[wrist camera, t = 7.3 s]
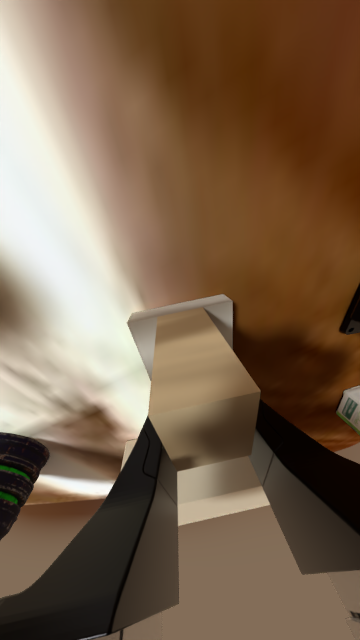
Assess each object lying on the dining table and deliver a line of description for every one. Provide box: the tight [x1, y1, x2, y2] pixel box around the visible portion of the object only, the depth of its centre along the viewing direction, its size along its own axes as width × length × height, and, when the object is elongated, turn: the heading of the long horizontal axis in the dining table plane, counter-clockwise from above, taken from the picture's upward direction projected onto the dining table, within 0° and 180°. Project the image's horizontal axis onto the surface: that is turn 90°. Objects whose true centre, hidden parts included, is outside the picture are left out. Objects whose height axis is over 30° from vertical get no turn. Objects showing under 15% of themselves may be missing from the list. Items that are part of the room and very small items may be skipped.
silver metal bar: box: [127, 294, 261, 472], centre depth 12 cm, size 24×7×8 cm, turn 10°
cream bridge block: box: [121, 439, 270, 526], centre depth 18 cm, size 20×9×6 cm, turn 99°
